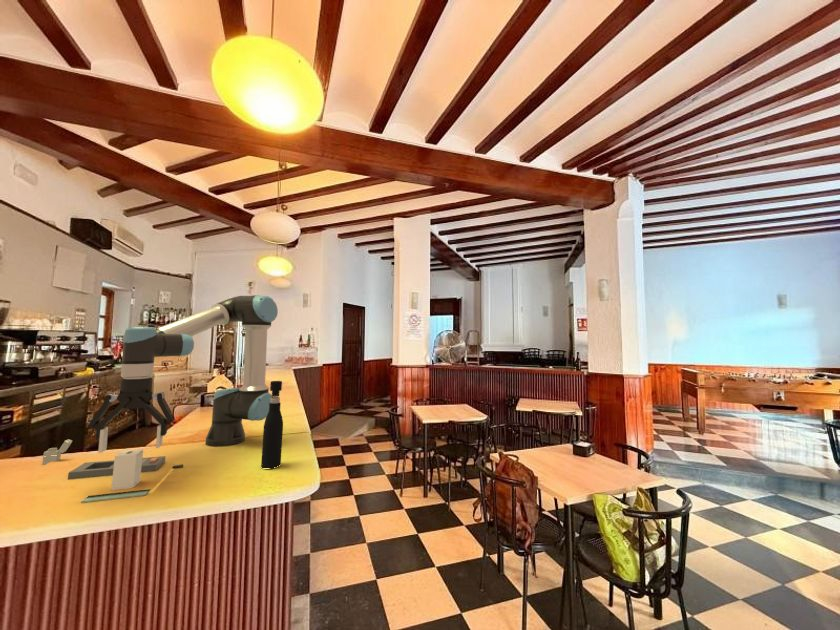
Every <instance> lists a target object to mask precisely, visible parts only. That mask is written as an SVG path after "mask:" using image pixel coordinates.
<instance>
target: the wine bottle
mask: <svg viewBox="0 0 840 630" xmlns="http://www.w3.org/2000/svg"><path fill="white" fill-rule="evenodd" d="M282 388H283V381H281V380H271V381H270V386H269V392H270V391H271V395H272V398H271V399H270V400H271V401H270V402H271V403H269V412H268V414H267V417H266V418H265V419H264V424H263V432H262V433H263V435H262V449H261V462H260V463H261V465H260V468H261V467H262V468H274V467H277V466H279V465H280V464H282V461H281V460H282V450H283V449H282V448H283V432H284V419H283V416H282V412H281V404H282V403H281V398H280V391H282ZM280 466H281V465H280ZM262 468H261V469H262Z"/></svg>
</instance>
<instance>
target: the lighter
mask: <svg viewBox="0 0 840 630" xmlns="http://www.w3.org/2000/svg"><path fill="white" fill-rule="evenodd" d="M72 442H73V440H72V439H69V438H68V439H65V440H64V442H63V443H62V445H61V446H60V448H59V449H58V447H51V448H49V447H48V449H47V450H46V451H44V452H43V456H42V461H41V462H42V463H41V465H42V466H45V465H47V464H49V463H51V462H52V463H53V462H59V461H61V457H62V454H63V453H65V452H66V451H67V450H68V449H69V447H70V446H71V444H73V443H72ZM51 455H57V456H51ZM44 456H46V457H44Z"/></svg>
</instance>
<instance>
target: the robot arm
mask: <svg viewBox="0 0 840 630" xmlns="http://www.w3.org/2000/svg"><path fill="white" fill-rule="evenodd" d="M278 314H279V313H278V306H277V303H276V302H275V301H274V299H273V298H272V297H270V296H268V295H262V294H260V295H259V294H257V295H255V294H254V295H237V296H234V297H233V296H232V297H231V298H227V299H225V300H222V301H220V302H216V303H215V304H213V305H211V307H210V308H208V309H206V310H203V311H200V312H197V313H194V314H192V315H189V316H187V317H184V318H180V319H179V320H175V321H172V322H169V323H167V324H165V325H162V326H159V327H157V328H156V327H155V326H154V327H152V326H151V327H150V326H129V327H127V328H125V330H124V334H123V340H122V343H123V345H122V356H121V357H122V359H121V371H120V377H121V379H120V381H119V393H118V394H114V393H110V394H106V395H105V396H104V400H103V403H102V404H101V406H100V407H99V409H98V410H97V411H96V413H95V415H93V417H92V419H91V420H90V421H89V423H88V424H87V427H88V428H89V429H91V428H92V429H95V441H98V449H97V451H98V453H97V454H101V453H103V452H105V451H107V447H108V434H109V427H106V426H107V425H108V424H109V423H110V422H111V421H112V420H113V419H114V418H115V417H117V416H118V415H119V414H120V413H121V412H122V411H123V410H124V409H125V410H132V409H133V410H139V409H140V410H141V409H143V410H146V412H148V414H149V415H151V416H152V417H153V418H154V419H155V420H156V422H158V423H159V424H158V425H157V427H156V430H157V431H156V444H155V449H160V448H161V447H162V446H163V438H164V436H166V435H167V433H168V424H172V423H173V422H174V421H175V420H176V417H175V415H174V414H173V412H172V410H171V408H170V406H169V405H168V403H167V401H166V399H165V398H166V397H165V392H164V391H161V392H158V393H157V392H156V393H153V377H152V376H153V375H154V366H155V358H159V357H161V358H163V357H165V358H166V357H183V356H189V355H190V354H191V353H192V352H193V350H194V347H195V346H194V345H195V341H194V339H193V337H194V336H196V335H198V334H200V333H203V332H204V331H207V330H210V329H212V328H215V327H217V326H219V325H221V326H225V325H228V324H229V323H230V324H231V323H237V322H241V326H242V327H243V328H244V330H245V335H244V336H245V337H244V360H243V378H242V379H243V381H242V382H243V383H242V385H241V387H233V388H223V389H219V390H216V391H215V392H214V395H213V399H212V413H211V414H212V415H211V416H212V417H211V425H210V427H209V430H208V432H207V435H206V436H205V441H204V442H205V445H206V446H209V447H226V446H232V445H237V444H240V443H242V441H243V442H244V441H245V440H246V433H245V429H244V426H243V420H248V421H252V422H253V421H254V422H255V421H257V422H259V421H263V420H265V419H266V417H267V414H268V412H269V403H271V402H270V401H271V400H270V399H271V398H272V393H269V392H270V386H268V385H267V384H266V367H267V349H268V345H267V344H268V343H267V342H268V330H269V329H270V328H271V327H272V322H274V321H275V320H276V318H277V317H278ZM152 399H154V400H155V401H156V402H157V403H158V405H159V408H160V409H161V411H162V413H163V414H162V413H161V412H160V411H159V410H158V409H157V408H156V407H155V405H154V404H153V403H152V402H151V400H152ZM116 400H117V401H118V402H119V403H120V404H118V405H117V406H116V407H115V408H114V410H112V411H111V412H110V413H109V414H108V415H107V416H106V417H105V418H103V417H104V415H105V414H106V412H107V411H108V409H109V408H110V407H111V406H112V404H113V403H114V402H116ZM102 418H103V420H102Z"/></svg>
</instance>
